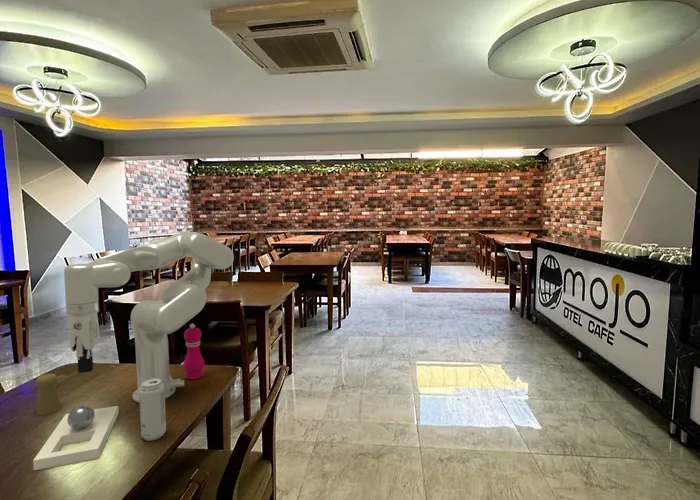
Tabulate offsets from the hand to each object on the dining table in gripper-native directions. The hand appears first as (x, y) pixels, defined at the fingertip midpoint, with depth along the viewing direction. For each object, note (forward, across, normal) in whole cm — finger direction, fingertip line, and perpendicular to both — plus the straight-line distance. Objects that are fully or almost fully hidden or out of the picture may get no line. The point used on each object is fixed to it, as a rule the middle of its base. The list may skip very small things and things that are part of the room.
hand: (85, 371), depth 107 cm
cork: (+16, +12, +13) cm, 24 cm away
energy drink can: (+15, -14, -19) cm, 28 cm away
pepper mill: (+15, +22, -28) cm, 39 cm away
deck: (+15, -8, -1) cm, 18 cm away
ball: (+10, -8, 0) cm, 12 cm away
